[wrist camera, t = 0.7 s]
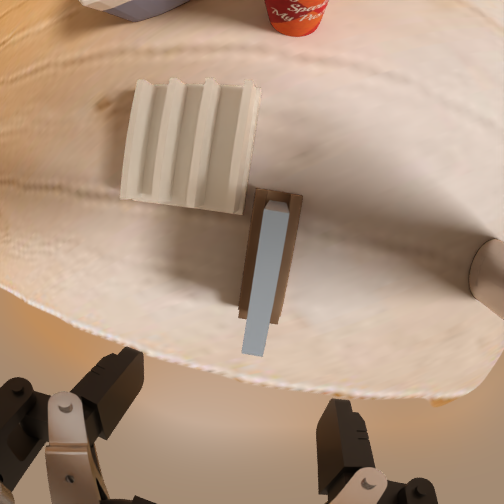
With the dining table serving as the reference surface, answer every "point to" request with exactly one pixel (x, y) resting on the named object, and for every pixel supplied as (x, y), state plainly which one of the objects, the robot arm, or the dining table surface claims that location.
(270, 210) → the grey-blue flat slab
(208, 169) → the rack
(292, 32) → the coffee cup
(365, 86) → the dining table surface
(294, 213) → the stand
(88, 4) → the bowl
